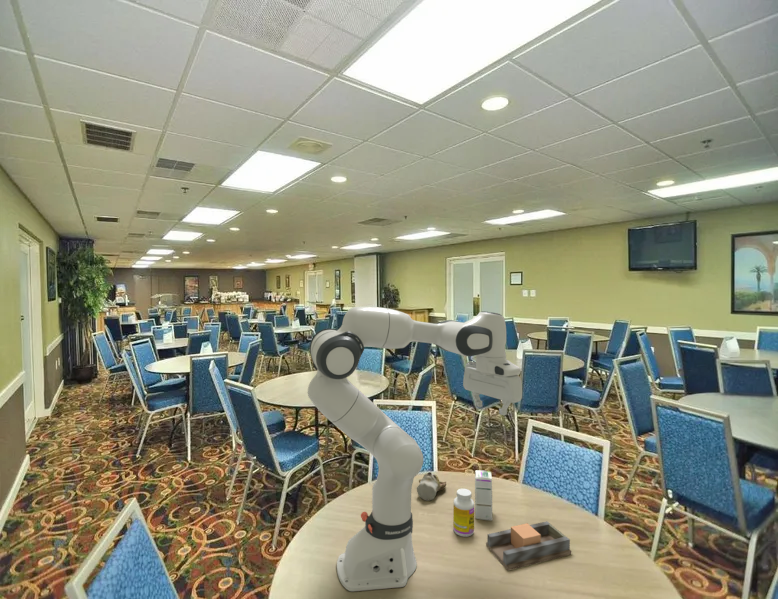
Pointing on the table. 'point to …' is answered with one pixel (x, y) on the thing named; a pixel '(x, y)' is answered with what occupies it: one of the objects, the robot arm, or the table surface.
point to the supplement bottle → (463, 513)
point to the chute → (529, 547)
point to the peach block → (524, 535)
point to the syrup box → (483, 495)
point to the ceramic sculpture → (429, 486)
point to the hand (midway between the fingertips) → (490, 410)
